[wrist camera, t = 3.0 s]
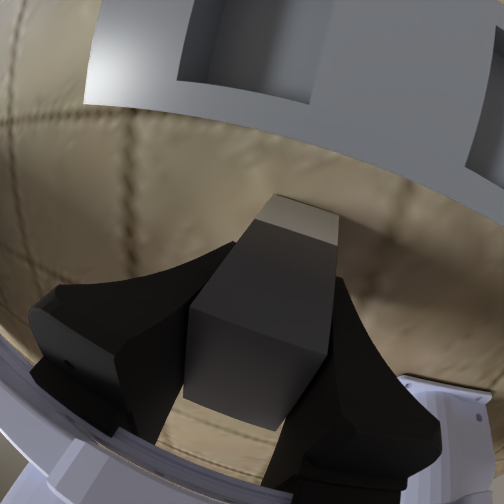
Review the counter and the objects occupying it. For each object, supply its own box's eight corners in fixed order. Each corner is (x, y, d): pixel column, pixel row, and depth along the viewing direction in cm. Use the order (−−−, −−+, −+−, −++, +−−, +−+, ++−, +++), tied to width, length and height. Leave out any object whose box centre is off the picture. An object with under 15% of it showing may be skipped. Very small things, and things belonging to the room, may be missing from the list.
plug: (339, 215, 12) (326, 355, 6) (311, 287, 14) (275, 431, 8) (273, 193, 13) (189, 306, 6) (254, 268, 15) (183, 397, 8)
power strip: (591, 121, 5) (630, 135, 2) (551, 248, 9) (583, 284, 6) (156, -36, 8) (111, -57, 5) (125, 99, 12) (73, 105, 9)
